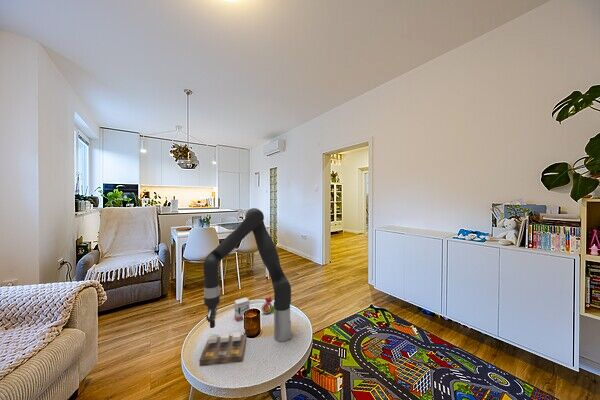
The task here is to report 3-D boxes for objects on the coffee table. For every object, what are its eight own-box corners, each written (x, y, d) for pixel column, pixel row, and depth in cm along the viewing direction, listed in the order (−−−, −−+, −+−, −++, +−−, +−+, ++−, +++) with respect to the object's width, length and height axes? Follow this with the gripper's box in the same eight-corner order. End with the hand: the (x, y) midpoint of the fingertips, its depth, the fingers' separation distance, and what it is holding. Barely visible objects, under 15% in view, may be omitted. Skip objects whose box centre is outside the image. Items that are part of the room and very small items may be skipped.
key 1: (218, 337, 119) (218, 333, 119) (216, 342, 116) (216, 338, 115) (210, 338, 119) (210, 334, 119) (208, 343, 115) (208, 339, 115)
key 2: (241, 335, 121) (241, 331, 121) (240, 340, 117) (240, 336, 117) (233, 336, 120) (233, 332, 120) (232, 341, 116) (232, 337, 116)
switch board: (246, 339, 125) (246, 333, 125) (242, 361, 110) (242, 355, 109) (208, 343, 123) (208, 337, 123) (199, 366, 107) (199, 359, 107)
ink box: (237, 322, 142) (236, 303, 142) (234, 318, 146) (234, 300, 146) (250, 317, 147) (249, 299, 146) (247, 314, 151) (246, 296, 150)
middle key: (229, 336, 120) (229, 332, 120) (228, 341, 116) (228, 337, 116) (222, 337, 120) (222, 333, 120) (220, 342, 116) (220, 338, 116)
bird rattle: (267, 319, 148) (278, 310, 152) (260, 306, 145) (272, 297, 149) (264, 315, 153) (275, 306, 157) (257, 302, 151) (269, 293, 155)
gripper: (216, 300, 110) (217, 334, 111) (222, 288, 123) (222, 319, 124) (200, 301, 109) (200, 335, 110) (207, 289, 122) (208, 320, 123)
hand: (212, 327), depth 117 cm, fingers closed
